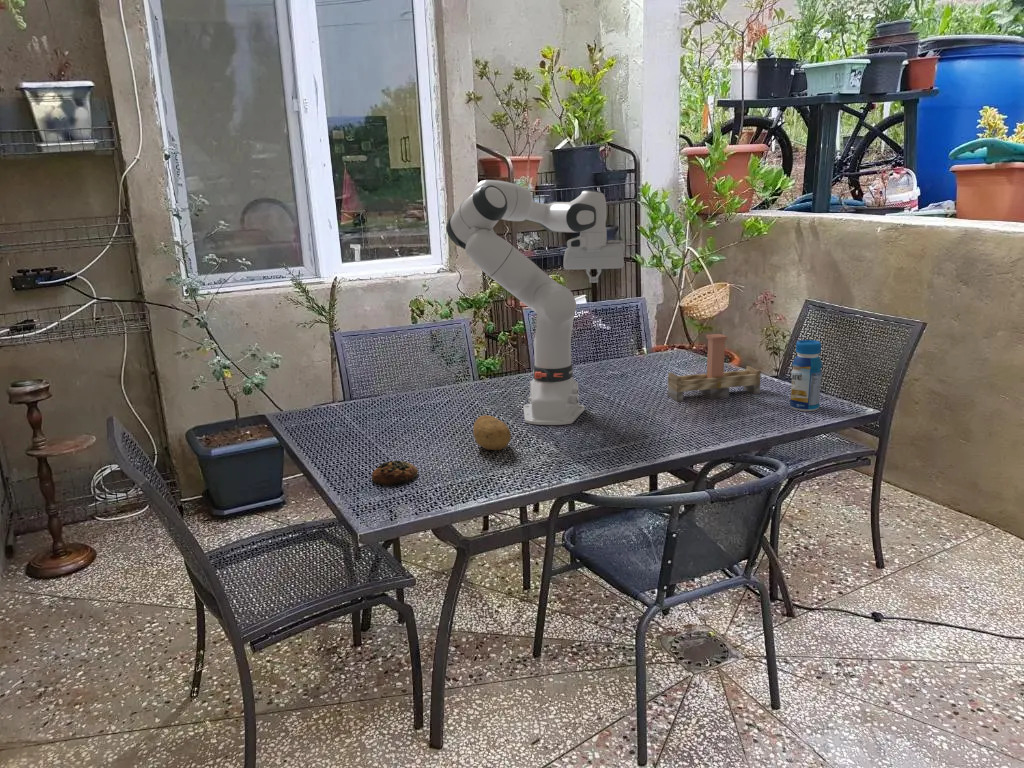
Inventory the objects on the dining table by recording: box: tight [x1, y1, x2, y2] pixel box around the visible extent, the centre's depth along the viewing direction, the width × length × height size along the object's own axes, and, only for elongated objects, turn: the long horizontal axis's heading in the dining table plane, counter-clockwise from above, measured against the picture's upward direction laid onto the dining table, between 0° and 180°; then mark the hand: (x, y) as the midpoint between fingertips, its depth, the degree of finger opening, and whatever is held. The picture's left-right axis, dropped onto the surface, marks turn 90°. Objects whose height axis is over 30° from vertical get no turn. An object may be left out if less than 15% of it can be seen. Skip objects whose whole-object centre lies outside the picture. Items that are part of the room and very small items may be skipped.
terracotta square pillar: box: [705, 333, 728, 378], centre depth 234 cm, size 5×5×14 cm
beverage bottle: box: [789, 339, 823, 412], centre depth 218 cm, size 8×8×20 cm
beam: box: [667, 365, 762, 402], centre depth 236 cm, size 28×9×7 cm, turn 101°
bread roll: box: [371, 459, 419, 487], centre depth 179 cm, size 11×11×5 cm
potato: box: [472, 414, 512, 451], centre depth 195 cm, size 10×14×8 cm
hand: (593, 282), depth 250 cm, fingers closed
